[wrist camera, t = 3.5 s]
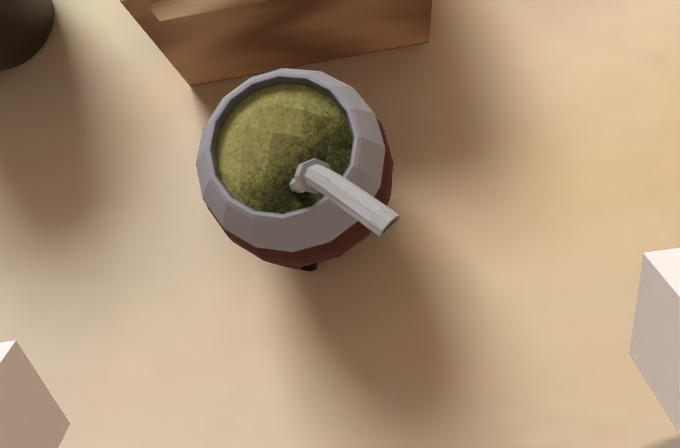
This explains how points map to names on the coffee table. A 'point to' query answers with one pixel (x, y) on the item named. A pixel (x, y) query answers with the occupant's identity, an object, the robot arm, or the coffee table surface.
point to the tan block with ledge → (274, 32)
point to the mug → (23, 29)
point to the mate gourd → (296, 168)
